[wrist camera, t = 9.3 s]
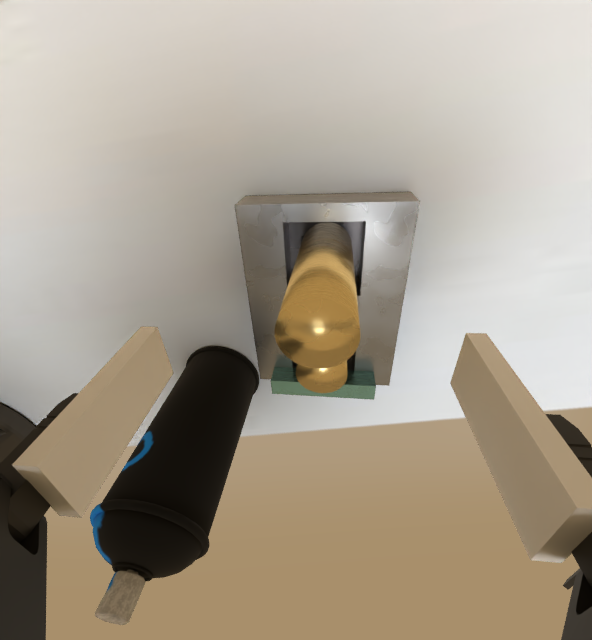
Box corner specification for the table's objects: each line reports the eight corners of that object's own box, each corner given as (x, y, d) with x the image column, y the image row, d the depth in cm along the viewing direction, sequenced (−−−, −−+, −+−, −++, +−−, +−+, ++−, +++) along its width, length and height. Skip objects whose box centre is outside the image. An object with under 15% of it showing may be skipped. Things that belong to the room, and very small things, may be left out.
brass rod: (301, 270, 25) (276, 365, 16) (300, 222, 23) (271, 296, 13) (350, 271, 25) (356, 370, 15) (353, 222, 23) (364, 300, 13)
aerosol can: (263, 354, 32) (178, 614, 15) (255, 406, 36) (184, 650, 20) (185, 338, 32) (15, 579, 15) (188, 392, 36) (59, 622, 20)
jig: (266, 358, 32) (252, 405, 27) (245, 195, 23) (218, 218, 18) (384, 363, 30) (394, 414, 25) (410, 191, 22) (433, 214, 16)
